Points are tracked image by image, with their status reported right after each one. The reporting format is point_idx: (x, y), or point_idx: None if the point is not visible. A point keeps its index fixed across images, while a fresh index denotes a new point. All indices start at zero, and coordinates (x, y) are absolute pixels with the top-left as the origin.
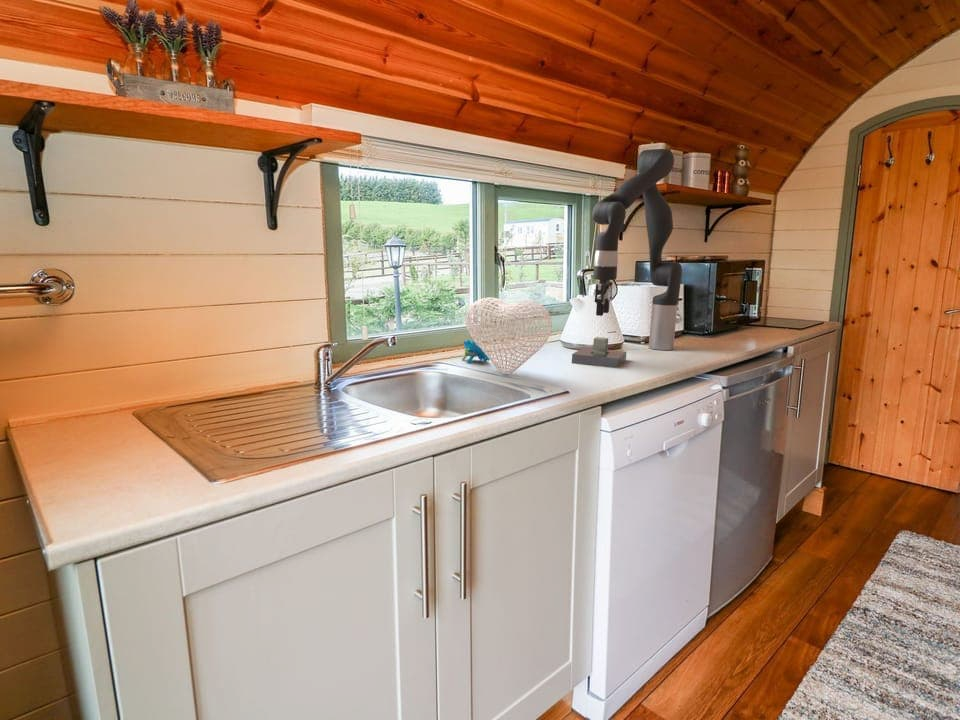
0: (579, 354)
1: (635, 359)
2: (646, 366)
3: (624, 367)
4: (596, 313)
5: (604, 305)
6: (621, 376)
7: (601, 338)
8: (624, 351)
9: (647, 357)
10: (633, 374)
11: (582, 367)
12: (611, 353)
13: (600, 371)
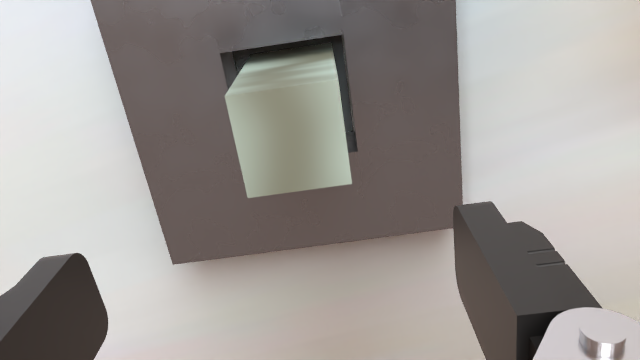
0: (104, 9)
1: None
2: (339, 328)
3: (230, 258)
4: (36, 270)
5: (490, 304)
6: None
7: (278, 149)
8: None
9: (619, 264)
10: None
11: (33, 76)
12: None
13: (23, 200)
